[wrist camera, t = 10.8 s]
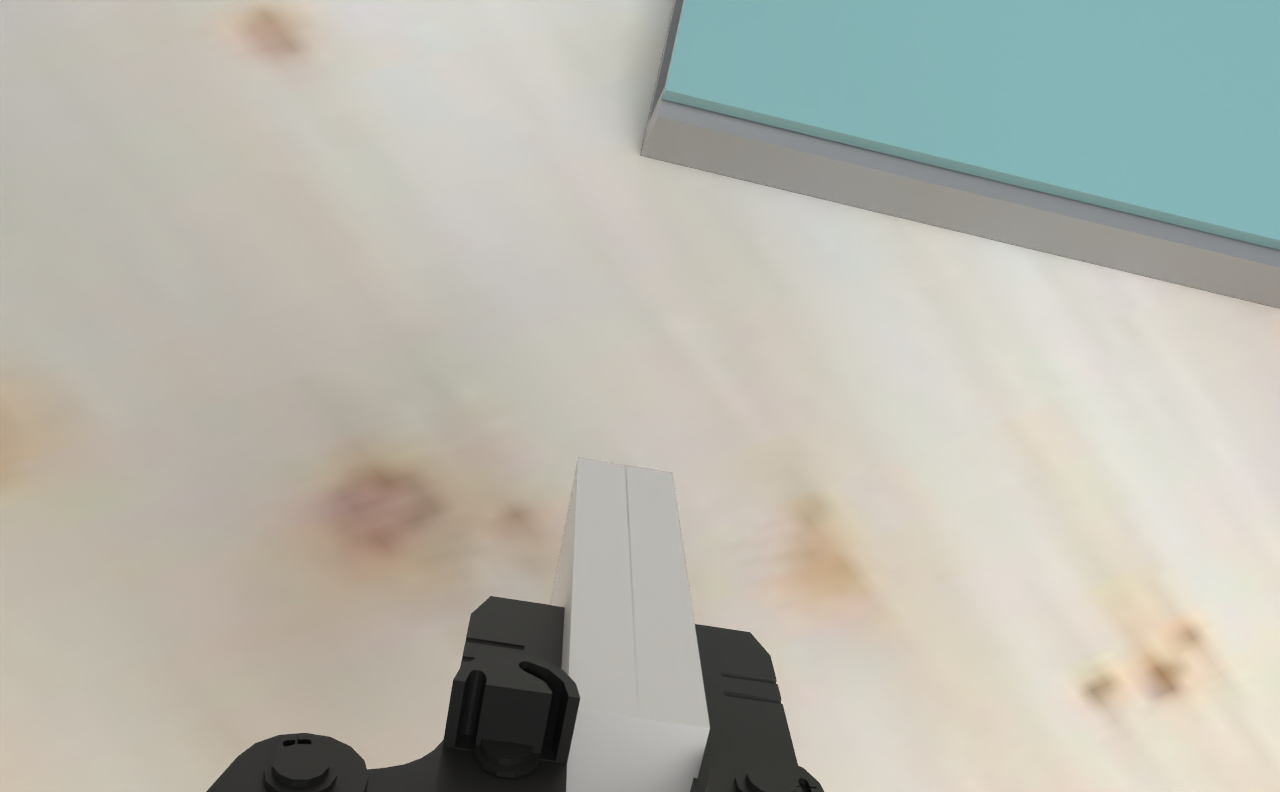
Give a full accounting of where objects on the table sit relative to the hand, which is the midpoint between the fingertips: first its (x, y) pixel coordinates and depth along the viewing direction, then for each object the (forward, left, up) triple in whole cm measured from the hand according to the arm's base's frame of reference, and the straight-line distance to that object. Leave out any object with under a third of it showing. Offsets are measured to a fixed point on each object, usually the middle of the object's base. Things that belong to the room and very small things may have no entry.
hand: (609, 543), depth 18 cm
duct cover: (-2, +22, -19) cm, 29 cm away
